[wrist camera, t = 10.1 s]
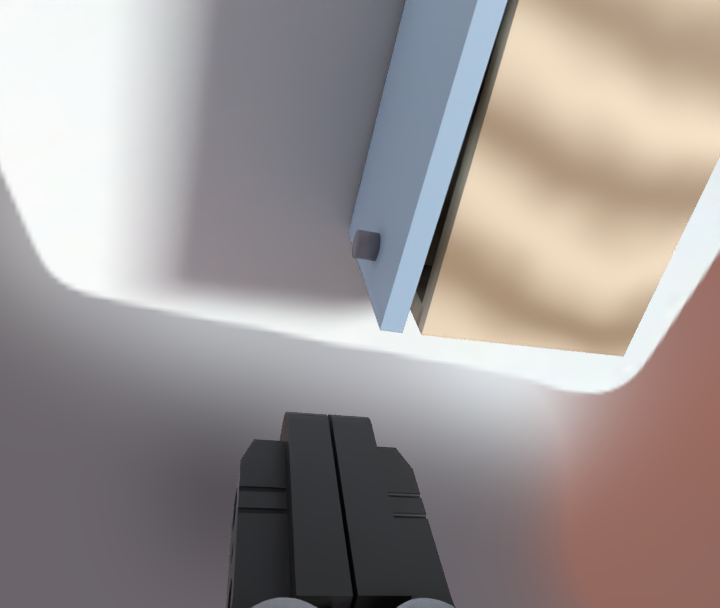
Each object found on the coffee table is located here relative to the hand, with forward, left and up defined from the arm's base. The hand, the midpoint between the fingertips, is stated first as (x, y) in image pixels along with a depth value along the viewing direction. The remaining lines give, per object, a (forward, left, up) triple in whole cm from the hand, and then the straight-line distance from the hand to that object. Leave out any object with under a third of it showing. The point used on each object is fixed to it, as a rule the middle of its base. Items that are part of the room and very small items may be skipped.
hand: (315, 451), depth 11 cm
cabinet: (-3, +14, -31) cm, 34 cm away
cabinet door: (-13, +7, -31) cm, 34 cm away
